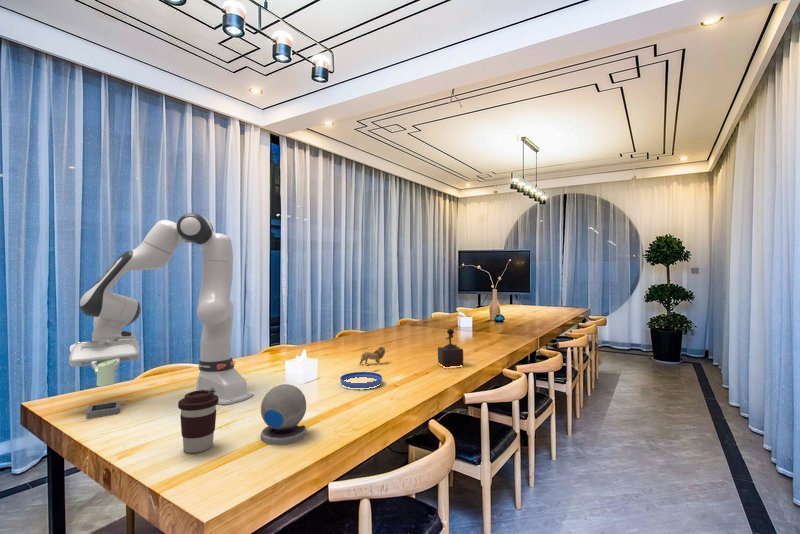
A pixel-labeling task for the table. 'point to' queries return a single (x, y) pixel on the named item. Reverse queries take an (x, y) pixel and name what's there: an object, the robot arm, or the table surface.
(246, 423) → the table surface
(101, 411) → the holder collar
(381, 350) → the lion figurine
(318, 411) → the table surface
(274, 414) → the webcam
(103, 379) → the candle
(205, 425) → the coffee cup
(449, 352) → the black block with stem
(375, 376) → the blue ring
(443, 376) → the table surface
